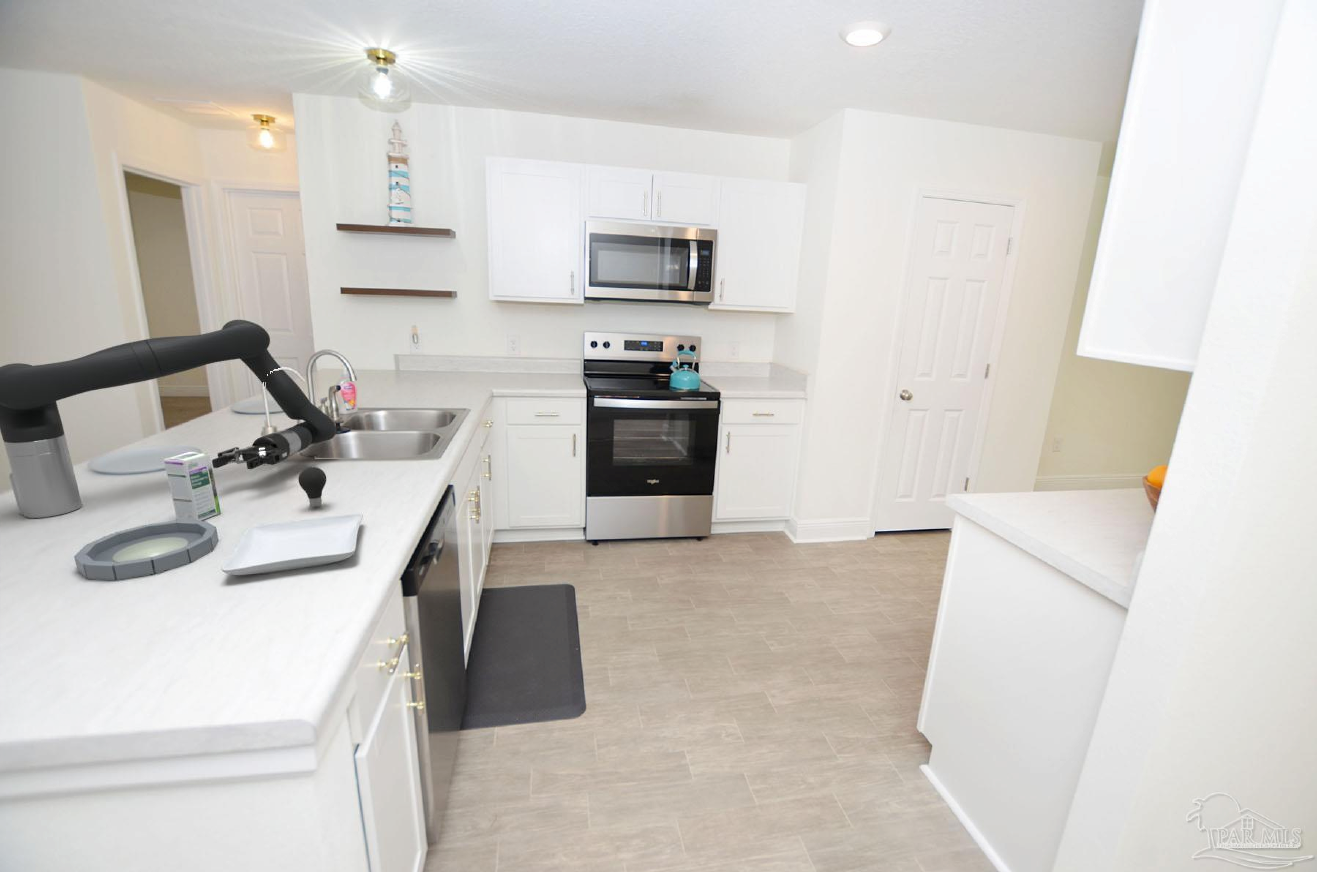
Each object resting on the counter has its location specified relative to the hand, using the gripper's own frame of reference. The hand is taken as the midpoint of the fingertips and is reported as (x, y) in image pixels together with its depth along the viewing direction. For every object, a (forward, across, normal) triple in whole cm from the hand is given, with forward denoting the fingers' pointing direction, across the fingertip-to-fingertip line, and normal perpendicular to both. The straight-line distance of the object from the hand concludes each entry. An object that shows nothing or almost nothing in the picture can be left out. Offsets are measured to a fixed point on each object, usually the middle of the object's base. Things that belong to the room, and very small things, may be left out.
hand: (231, 464), depth 137 cm
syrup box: (+11, 0, +9) cm, 14 cm away
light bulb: (+3, +22, +9) cm, 24 cm away
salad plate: (+25, +33, +9) cm, 42 cm away
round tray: (+29, +6, +9) cm, 31 cm away
